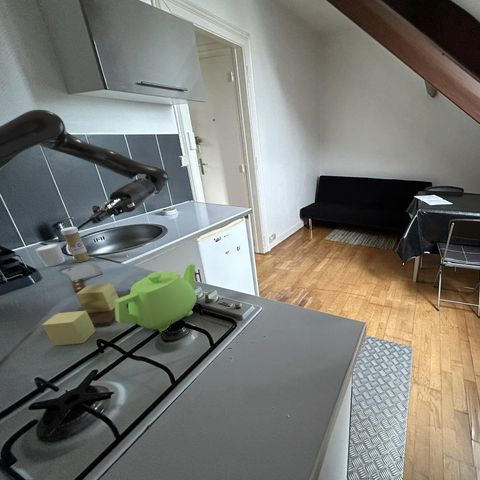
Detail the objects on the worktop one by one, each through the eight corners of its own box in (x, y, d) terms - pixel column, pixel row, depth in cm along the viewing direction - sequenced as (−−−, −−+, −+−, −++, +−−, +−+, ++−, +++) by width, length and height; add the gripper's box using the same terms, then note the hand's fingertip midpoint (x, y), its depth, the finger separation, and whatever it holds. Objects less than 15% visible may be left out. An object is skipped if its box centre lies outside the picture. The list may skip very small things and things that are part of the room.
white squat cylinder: (57, 259, 105) (49, 243, 102) (71, 259, 104) (64, 243, 101) (38, 267, 99) (29, 250, 96) (53, 267, 98) (44, 250, 95)
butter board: (63, 330, 64) (50, 305, 61) (100, 298, 76) (91, 277, 73) (110, 325, 65) (98, 301, 62) (139, 295, 77) (131, 274, 74)
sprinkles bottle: (83, 262, 100) (68, 230, 95) (72, 263, 101) (56, 230, 95) (93, 257, 104) (79, 225, 99) (82, 257, 105) (68, 226, 100)
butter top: (57, 313, 60) (68, 333, 63) (41, 324, 57) (53, 346, 59) (86, 310, 61) (96, 330, 63) (72, 322, 57) (83, 343, 59)
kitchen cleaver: (107, 281, 84) (65, 294, 77) (108, 284, 84) (67, 297, 78) (95, 261, 100) (60, 270, 93) (96, 263, 100) (61, 272, 94)
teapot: (187, 290, 77) (176, 252, 73) (218, 302, 71) (208, 261, 66) (112, 334, 61) (91, 288, 57) (143, 353, 55) (123, 304, 50)
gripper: (105, 188, 84) (61, 211, 70) (144, 182, 84) (109, 204, 69) (117, 209, 88) (79, 235, 73) (155, 204, 88) (124, 228, 73)
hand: (93, 220), depth 71 cm, fingers closed
